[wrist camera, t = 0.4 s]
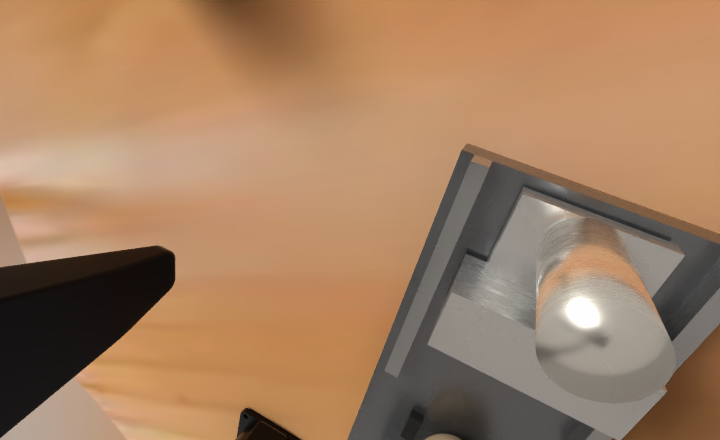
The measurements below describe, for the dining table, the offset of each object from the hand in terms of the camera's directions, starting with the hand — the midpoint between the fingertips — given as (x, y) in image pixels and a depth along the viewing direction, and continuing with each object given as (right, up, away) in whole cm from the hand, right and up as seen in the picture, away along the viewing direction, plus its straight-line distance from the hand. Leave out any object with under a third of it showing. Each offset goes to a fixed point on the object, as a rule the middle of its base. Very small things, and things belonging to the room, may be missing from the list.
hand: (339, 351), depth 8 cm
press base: (+8, -6, +15) cm, 18 cm away
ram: (+9, 0, +9) cm, 13 cm away
